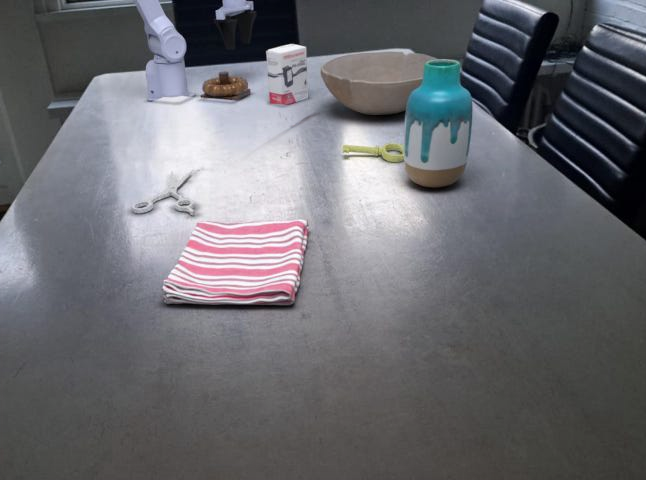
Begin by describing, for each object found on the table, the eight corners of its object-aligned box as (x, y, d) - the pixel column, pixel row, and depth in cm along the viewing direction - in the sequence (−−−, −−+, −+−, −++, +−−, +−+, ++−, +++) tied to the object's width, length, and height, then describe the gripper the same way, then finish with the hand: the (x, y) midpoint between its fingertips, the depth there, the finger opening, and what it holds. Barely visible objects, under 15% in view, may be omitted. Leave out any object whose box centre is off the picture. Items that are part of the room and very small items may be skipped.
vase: (426, 168, 121) (434, 52, 110) (478, 182, 115) (492, 60, 104) (388, 186, 115) (392, 65, 104) (441, 201, 109) (451, 74, 98)
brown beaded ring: (194, 95, 167) (192, 84, 165) (219, 84, 175) (217, 74, 173) (233, 99, 162) (232, 88, 161) (256, 87, 170) (256, 76, 169)
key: (339, 155, 129) (339, 144, 128) (401, 148, 131) (401, 137, 130) (349, 168, 123) (349, 156, 122) (414, 160, 125) (415, 149, 124)
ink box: (283, 106, 159) (280, 52, 152) (268, 103, 162) (265, 49, 156) (309, 98, 164) (307, 45, 157) (294, 95, 167) (292, 43, 160)
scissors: (128, 213, 109) (154, 168, 126) (128, 217, 110) (154, 172, 126) (193, 211, 109) (211, 166, 125) (194, 215, 109) (211, 170, 125)
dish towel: (160, 309, 86) (155, 284, 84) (200, 230, 105) (197, 208, 103) (295, 311, 84) (294, 286, 82) (311, 230, 103) (310, 208, 101)
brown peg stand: (200, 100, 168) (197, 75, 165) (220, 91, 174) (217, 67, 171) (232, 103, 164) (229, 78, 161) (250, 93, 171) (248, 69, 167)
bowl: (463, 105, 153) (467, 57, 147) (398, 137, 137) (400, 84, 131) (366, 90, 167) (366, 46, 161) (297, 118, 151) (295, 70, 145)
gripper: (231, -11, 158) (237, 53, 166) (262, -19, 168) (266, 41, 176) (205, -11, 161) (212, 51, 168) (237, -19, 171) (242, 40, 179)
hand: (238, 46), depth 172 cm, fingers open, 7 cm apart
